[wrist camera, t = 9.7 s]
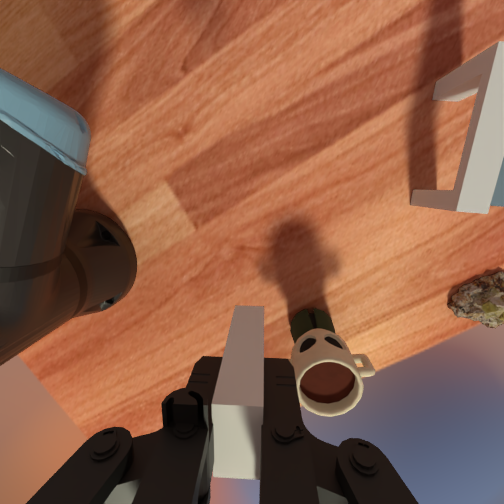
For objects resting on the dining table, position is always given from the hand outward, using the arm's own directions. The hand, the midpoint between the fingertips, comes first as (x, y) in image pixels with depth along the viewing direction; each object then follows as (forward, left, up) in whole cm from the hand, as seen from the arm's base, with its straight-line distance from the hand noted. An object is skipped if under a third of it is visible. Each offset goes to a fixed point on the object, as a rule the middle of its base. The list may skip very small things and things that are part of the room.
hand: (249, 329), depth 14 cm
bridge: (+20, +14, -25) cm, 35 cm away
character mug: (+8, -12, -25) cm, 29 cm away
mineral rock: (+32, -6, -25) cm, 41 cm away
